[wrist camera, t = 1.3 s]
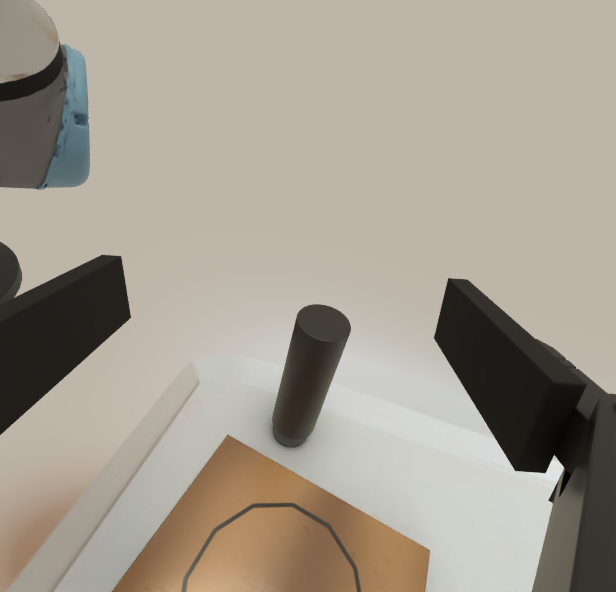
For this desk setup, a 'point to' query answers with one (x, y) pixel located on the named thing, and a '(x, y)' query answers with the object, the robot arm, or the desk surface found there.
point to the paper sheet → (271, 537)
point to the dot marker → (308, 371)
